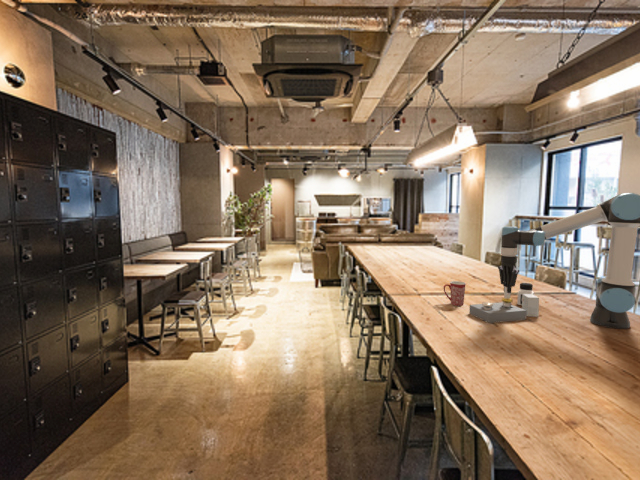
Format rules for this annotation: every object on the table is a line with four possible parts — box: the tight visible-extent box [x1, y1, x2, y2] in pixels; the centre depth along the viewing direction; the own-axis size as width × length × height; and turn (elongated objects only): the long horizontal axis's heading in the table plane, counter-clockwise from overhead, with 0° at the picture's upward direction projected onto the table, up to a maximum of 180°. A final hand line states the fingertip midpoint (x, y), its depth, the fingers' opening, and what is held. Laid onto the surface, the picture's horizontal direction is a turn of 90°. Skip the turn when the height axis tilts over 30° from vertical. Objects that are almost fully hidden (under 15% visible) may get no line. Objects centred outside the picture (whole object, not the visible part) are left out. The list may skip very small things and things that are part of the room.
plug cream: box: [481, 301, 493, 310], centre depth 180 cm, size 5×5×7 cm
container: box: [516, 282, 535, 306], centre depth 203 cm, size 8×8×13 cm
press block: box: [468, 301, 527, 324], centre depth 181 cm, size 16×22×5 cm
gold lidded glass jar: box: [501, 297, 514, 308], centre depth 182 cm, size 5×5×7 cm
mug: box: [443, 280, 467, 307], centre depth 206 cm, size 13×9×14 cm
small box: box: [521, 294, 540, 317], centre depth 184 cm, size 8×6×10 cm
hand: (507, 298), depth 182 cm, fingers closed
